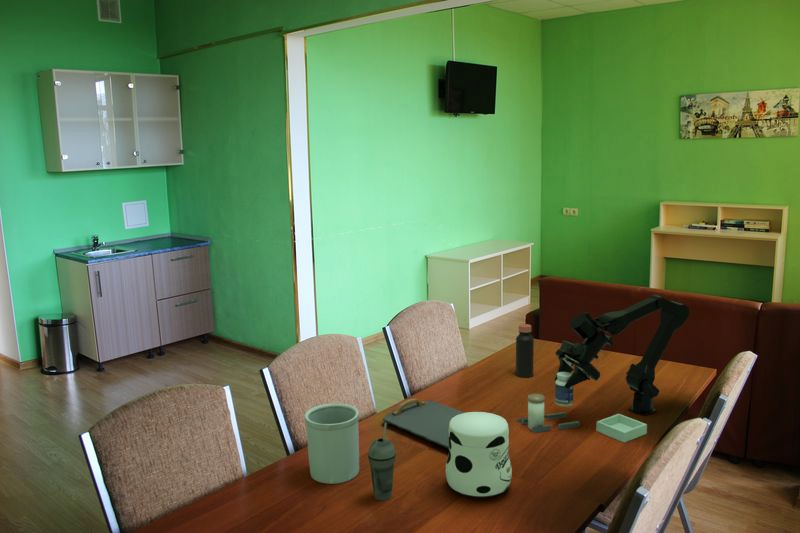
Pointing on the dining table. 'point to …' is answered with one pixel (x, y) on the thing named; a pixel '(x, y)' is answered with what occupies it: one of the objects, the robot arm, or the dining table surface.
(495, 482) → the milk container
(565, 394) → the pill bottle
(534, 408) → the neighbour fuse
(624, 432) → the tray
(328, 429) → the utensil holder
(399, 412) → the serving board
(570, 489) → the dining table surface
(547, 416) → the set of grey bars
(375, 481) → the beverage cup
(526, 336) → the black water bottle
